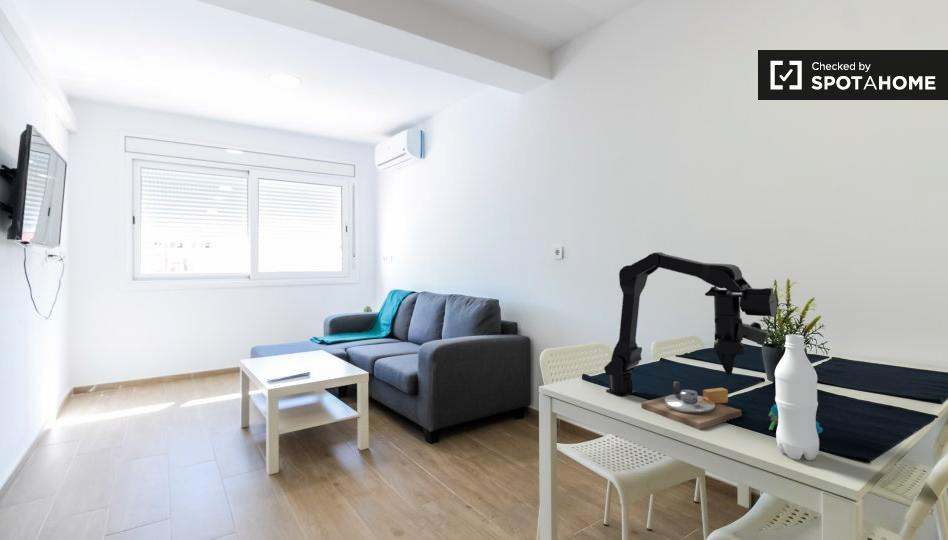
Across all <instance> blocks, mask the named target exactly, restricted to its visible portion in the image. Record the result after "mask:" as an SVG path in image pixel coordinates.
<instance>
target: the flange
mask: <svg viewBox="0 0 948 540" xmlns="http://www.w3.org/2000/svg"><path fill="white" fill-rule="evenodd" d="M680 392H681V394H674V393H673V394H674V395H673V394H669V395H670V396H669V395H666V396H667V397H666V398H665V405H666V406H667V407H668V408H670V409H672V410H675V411H679V412H683V413H691V414H703V413H709V412H712V411H714V409H715V404H718V403H719V404H723V403H729V397H728V396H729V394H728V393H729V390H728V389H726V388H724V387H717V388H708V389H702V396H701V395H698V392H697V391H696V390H693V389H680Z"/></svg>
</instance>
